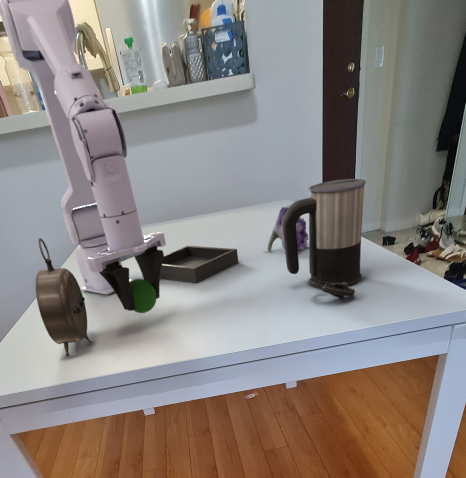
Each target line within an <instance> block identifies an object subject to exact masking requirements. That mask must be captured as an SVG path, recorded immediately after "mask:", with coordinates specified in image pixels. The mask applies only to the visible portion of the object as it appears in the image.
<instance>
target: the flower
mask: <svg viewBox="0 0 466 478" xmlns="http://www.w3.org/2000/svg"><path fill="white" fill-rule="evenodd" d="M289 207H290V205H287V206H283V207H280V210H279V212H278V216H277V218H276V220H275V223H274V226H273V227H272V231H271V235H270V237H269V240H268V243H267V250H268V252H269V253H271V252H272V248H273V245H274V242H275V241H276V239H279V240H280V241H281V246H282V248H283V249H284V250H285V245H284V236H283V217H284V214H285V212H286V211H287V209H288V208H289ZM296 234H297V246H298V252H299V251H300V250H301V251H303V250H304V249H307V248H308V241H309V233H308V232H307V222H306V220H305V219H304V217H301V216H300V217H299V219H298V220H297V223H296Z"/></svg>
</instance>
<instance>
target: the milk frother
mask: <svg viewBox="0 0 466 478" xmlns="http://www.w3.org/2000/svg"><path fill="white" fill-rule="evenodd" d="M366 184H367V180H365V179H362V178H345V179H336V180H330V181H324V182H320V183H316V184H313V185H311V186H309V187H308V190H309V191H310V195H311V196H310V197H306V198H302V199H298V200H296V201H294V202H293V203H292V204H290V205H289V208H288V207H287V208H288V209H287V211H286V212H285V214H284V217H283V236H284V245H285V249H284V253H285V262H286V269H287V271H288V272H289V273H290V274H291V275H296V274H298V273H299V270H300V261H299V251H298V246H297V234H296V223H297V220H298V219H299V217H300V218H301V217H302V216H304V215H306V214H308V242H309V243H308V244H309V245H308V247H309V249H308V250H309V251H308V253H309V255H308V256H309V262H308V263H309V268H308V269H309V274H310V279H309V278H308V281H307V284H308V285H309V286H310V287H312V288H314V289H317V290H319V291H323V293H327V294H329V295H331V296H333V297H336V298H338V299H339V300H341V301H343V300H344V298H345V297H353V296H354V295H355V292H356V290H355V287H350V285H353V284H355V283H357V282H359V281H360V280H361V278H362V274H361V253H362V252H361V250H362V249H361V247H362V233H363V231H362V230H363V229H362V228H363V215H364V214H363V211H364V193H365V185H366Z"/></svg>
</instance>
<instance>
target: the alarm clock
mask: <svg viewBox="0 0 466 478" xmlns="http://www.w3.org/2000/svg"><path fill="white" fill-rule="evenodd" d="M37 241H38V248H39V251H40V254H41V257H42V258H43V260H44V263H45V264H46V268H47V269H39V271H38V272H37V273H36V276H35V284H34V285H35V286H34V287H35V288H34V289H35V298H36V302H37V307H38V310H39V314H40V317H41V320H42V322H43V325H44V328H45V330H46V332H47V334H48V336H49V337H50V339H51V340H52V341H53V342H54V343H56V344H57V345H61V344H63V348H64V351H65V357H66V358H69V357H70V356H71V355H70V352H69V344H72V343H80V342H82V341H84V339H86V341H87V342H88V343H91V344H92V343H93V341H92V340H91V339H90V337H89V336H88V315H87V314H88V313H87V308H86V302H85V300H86V298H85V297H84V296H83V292H82V290H81V287H80V285H79V282H78V279H76V277H75V275H74V274H73V272H71V271H70V270H69V269H67V268H66V267H59V268H58V267H57V268H54V266H53V264H52V262H53V261H52V259H51V256H50V252H49V249H48V247H47V245H46V242H45V241H44V239H42V238H41V237H39V238H38V239H37ZM42 245H43V247H44V249H45V251H46V255H47V258H46V256H45V254H44V251H43V248H42Z"/></svg>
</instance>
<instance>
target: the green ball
mask: <svg viewBox="0 0 466 478" xmlns="http://www.w3.org/2000/svg"><path fill="white" fill-rule="evenodd" d="M131 280H132V281H130V288H131V293H132V297H133V301H134V305H135V310H133V311H132V312H135V313H138V314H145V313H148V312H150V311H151V310H152V309H153V308H154V307H155V305H156V302H157V299H156V291H155V289H154V287H153V286H152V284H151V283H150V282H148V281H147V280H144V278H134V279H131Z"/></svg>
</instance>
